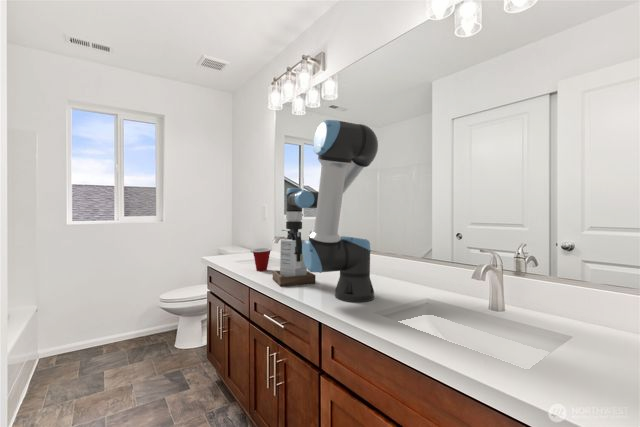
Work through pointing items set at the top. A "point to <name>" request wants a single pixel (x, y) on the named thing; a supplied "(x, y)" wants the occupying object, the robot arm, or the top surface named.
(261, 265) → the plastic cup
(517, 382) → the top surface
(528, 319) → the top surface
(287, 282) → the wooden tray
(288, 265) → the supplement box
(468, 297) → the top surface
